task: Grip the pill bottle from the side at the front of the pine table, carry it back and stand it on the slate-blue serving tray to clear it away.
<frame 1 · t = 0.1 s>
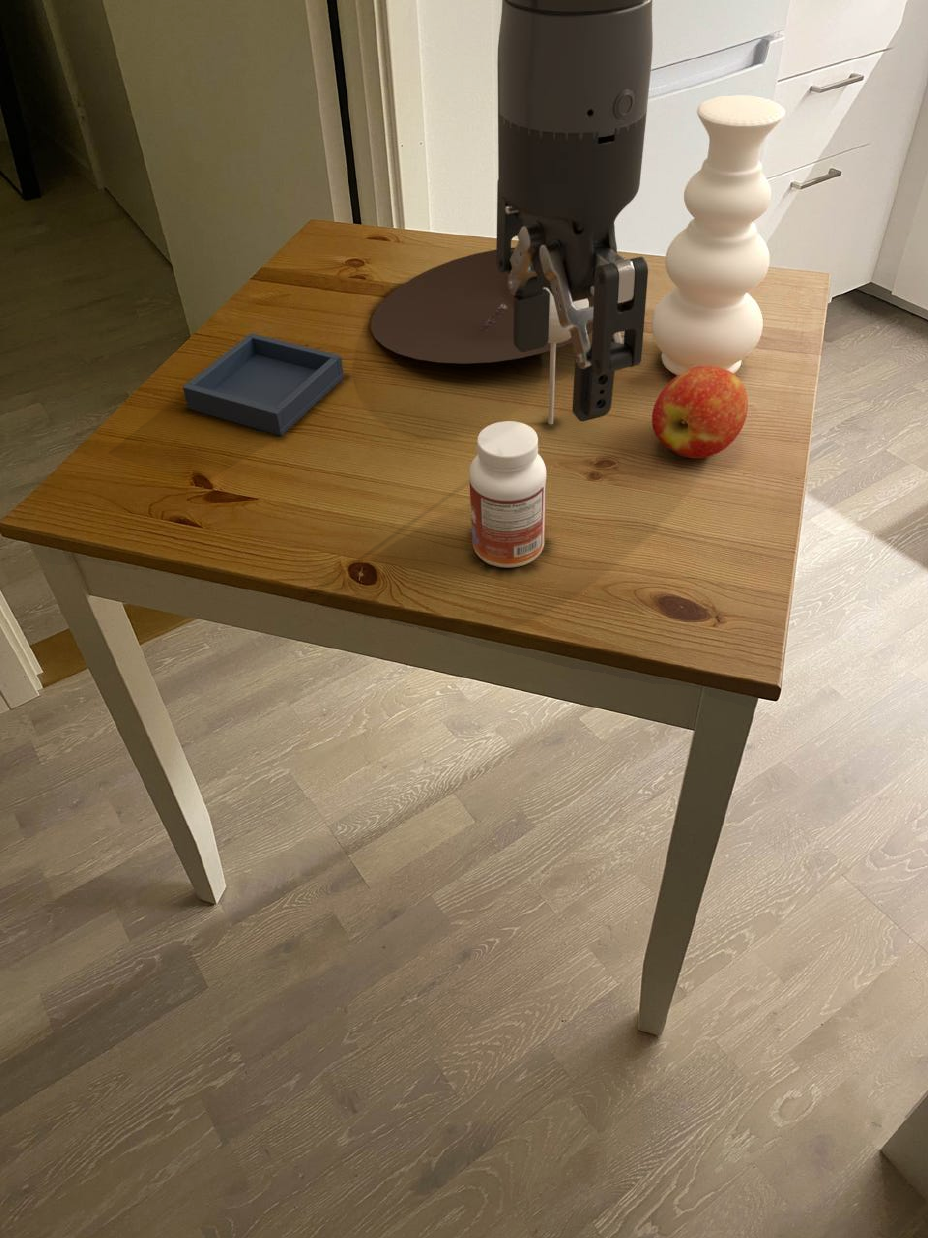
hand: (559, 380, 59), 21 cm above the table, tool pointing down, fingers open, 8 cm apart
pill bottle: (508, 547, 80), on the table
apple: (695, 448, 89), on the table
lollipop: (550, 424, 92), on the table
vase: (699, 366, 99), on the table
plate: (494, 320, 107), on the table
tray: (267, 392, 98), on the table
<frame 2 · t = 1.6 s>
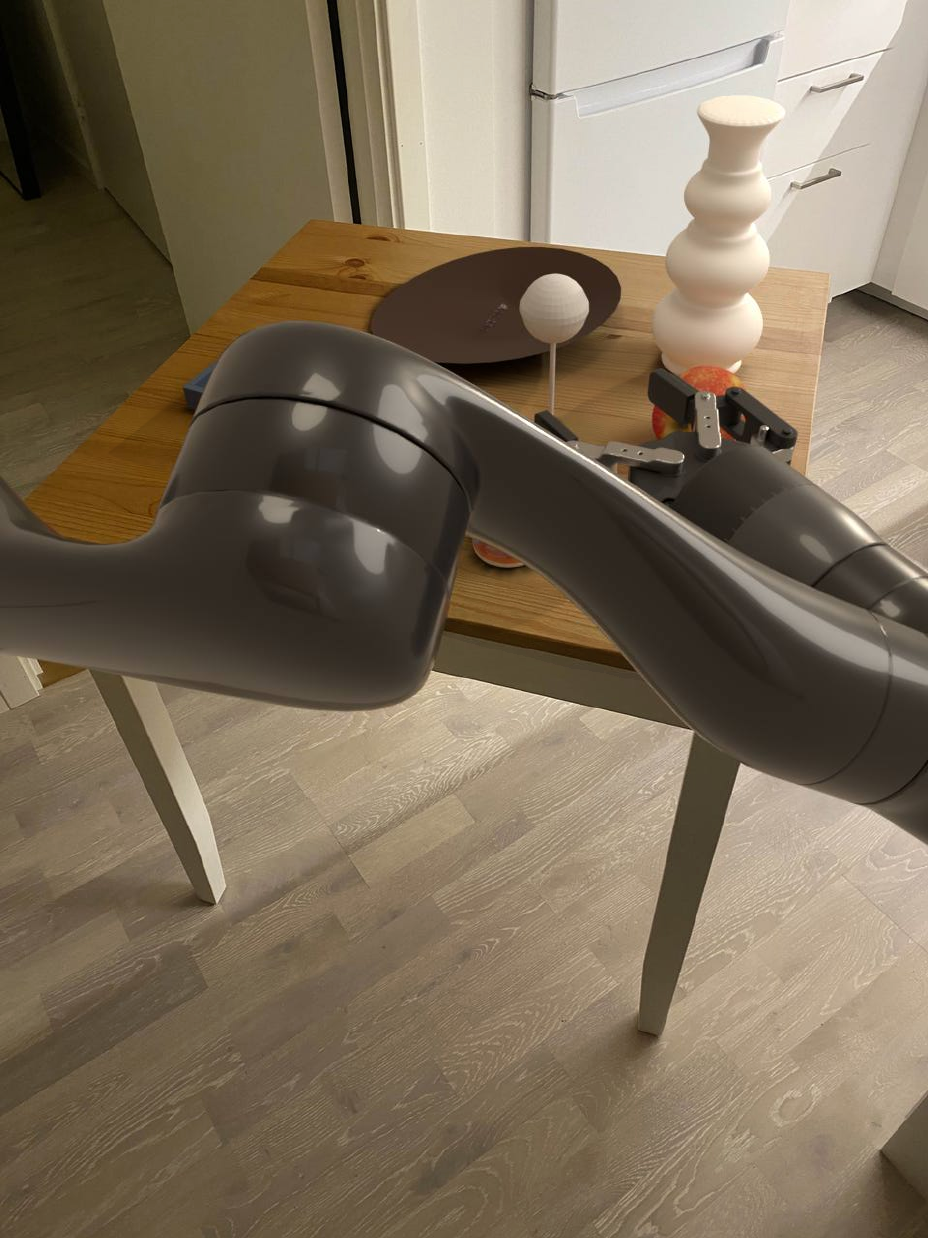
hand: (596, 402, 59), 20 cm above the table, tool horizontal, fingers open, 8 cm apart
nothing on the table moved.
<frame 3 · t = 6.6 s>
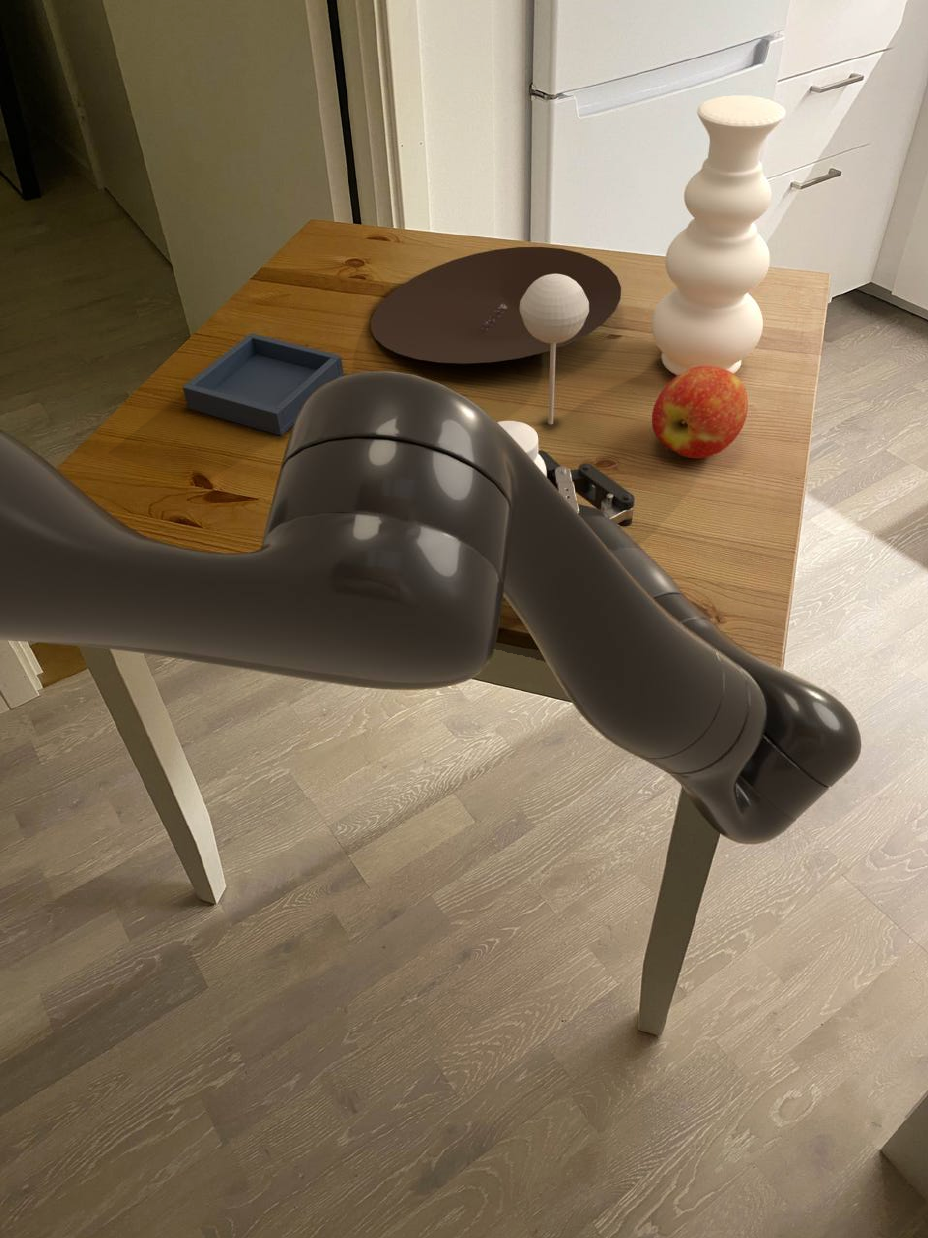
hand: (493, 470, 77), 7 cm above the table, tool horizontal, fingers closed on pill bottle, 6 cm apart
pill bottle: (508, 547, 80), on the table, touching gripper
everything else where it was.
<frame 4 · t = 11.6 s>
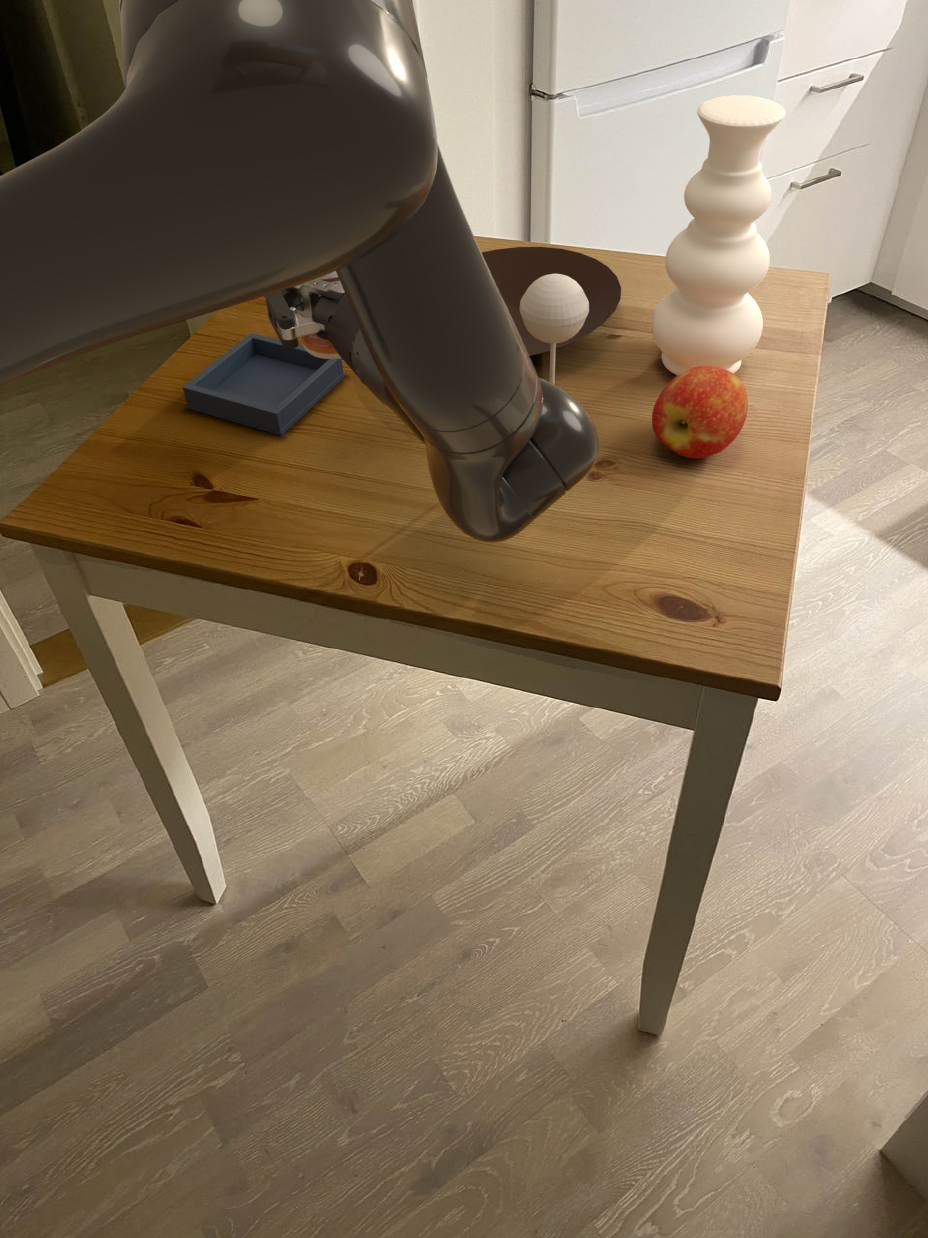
hand: (315, 262, 80), 18 cm above the table, tool horizontal, fingers closed on pill bottle, 6 cm apart
pill bottle: (337, 345, 83), point 11 cm above the table, touching gripper
everything else where it was.
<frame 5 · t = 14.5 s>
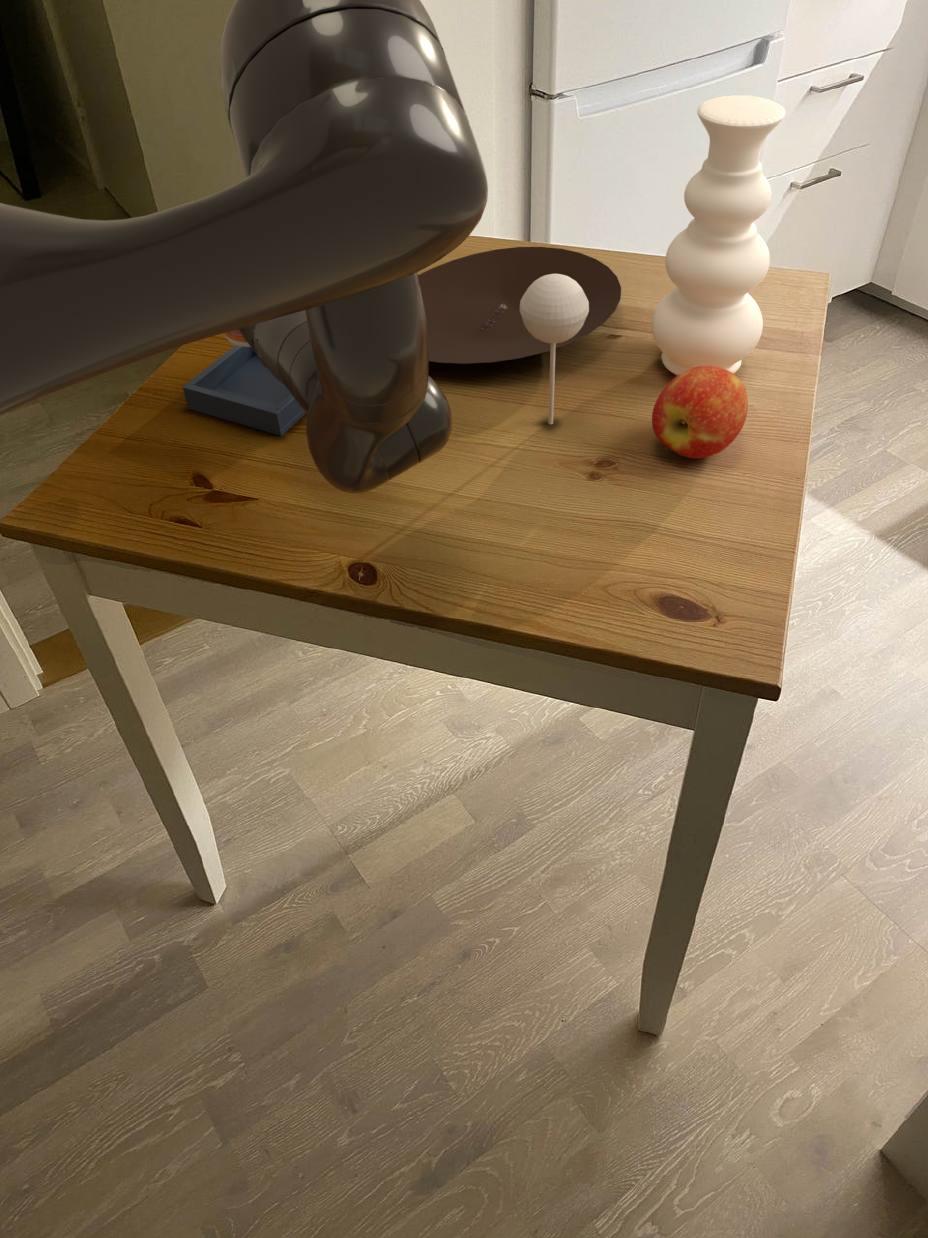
hand: (234, 261, 90), 13 cm above the table, tool horizontal, fingers closed on pill bottle, 6 cm apart
pill bottle: (257, 335, 93), point 7 cm above the table, touching gripper
everything else where it was.
when the fingers open (7 cm above the table, at t = 16.7 s): pill bottle stays where it is, resting on tray.
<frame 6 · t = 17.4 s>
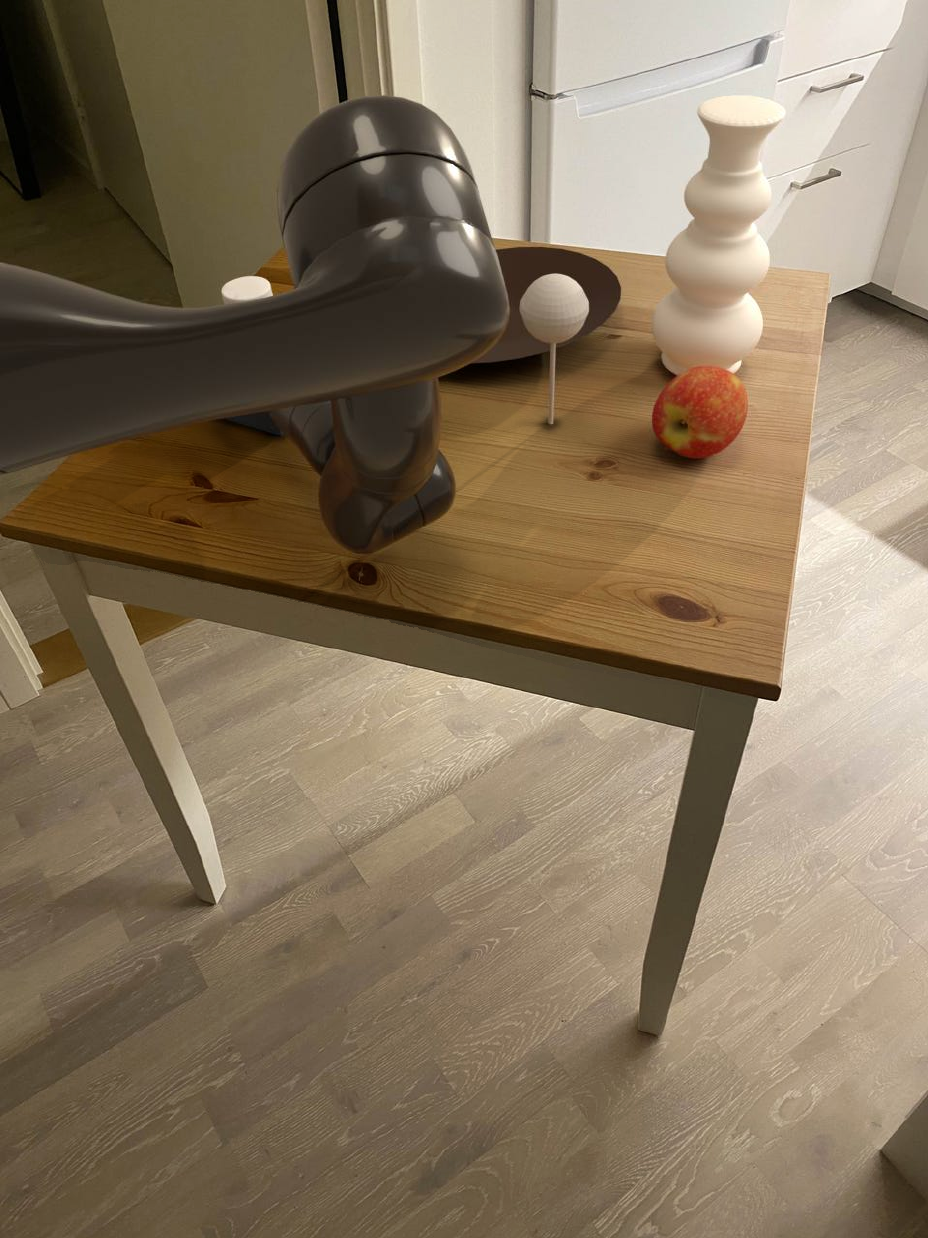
hand: (246, 317, 93), 8 cm above the table, tool horizontal, fingers open, 8 cm apart
pill bottle: (268, 389, 98), resting on tray
everything else where it was.
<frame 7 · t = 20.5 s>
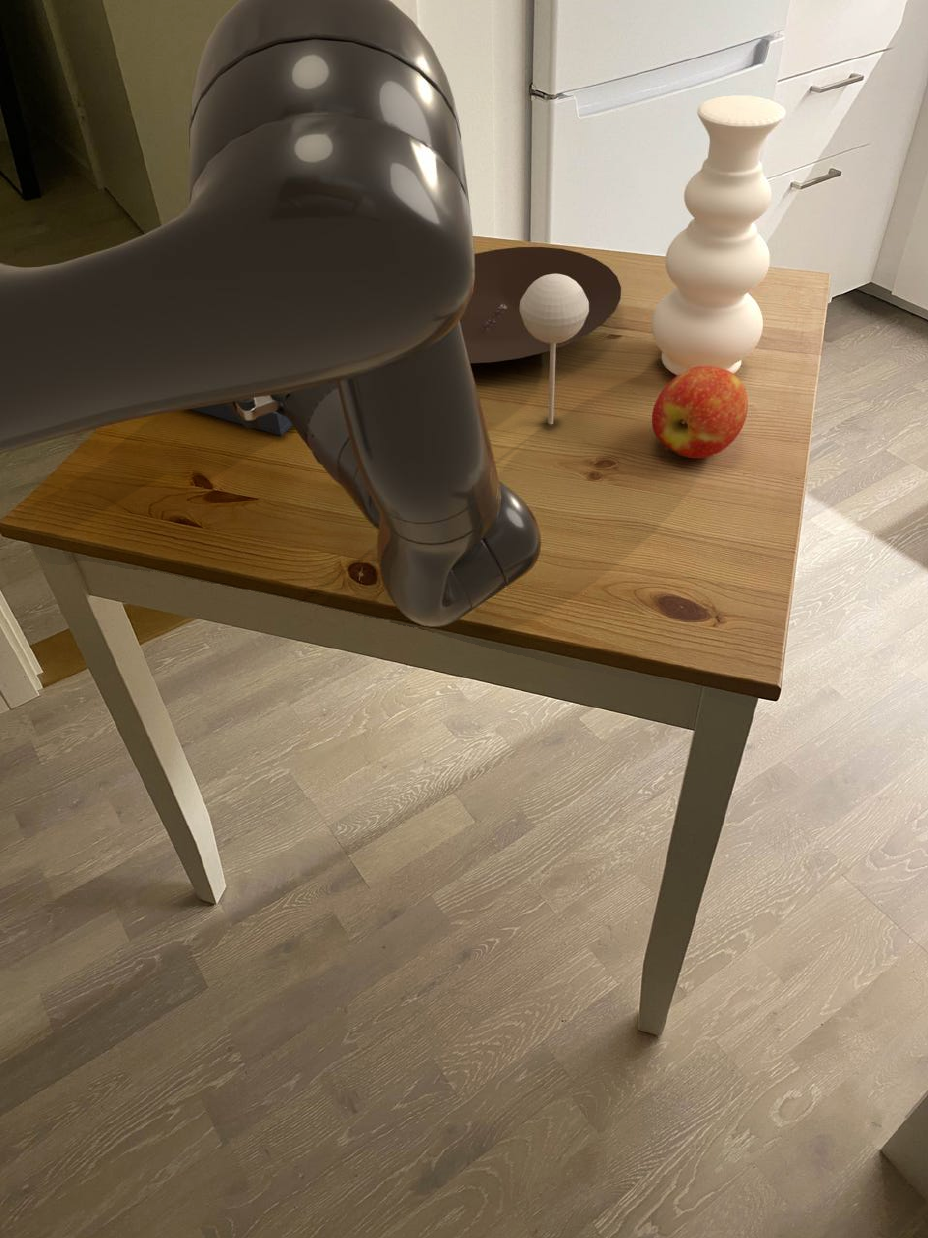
hand: (278, 334, 81), 13 cm above the table, tool horizontal, fingers open, 8 cm apart
nothing on the table moved.
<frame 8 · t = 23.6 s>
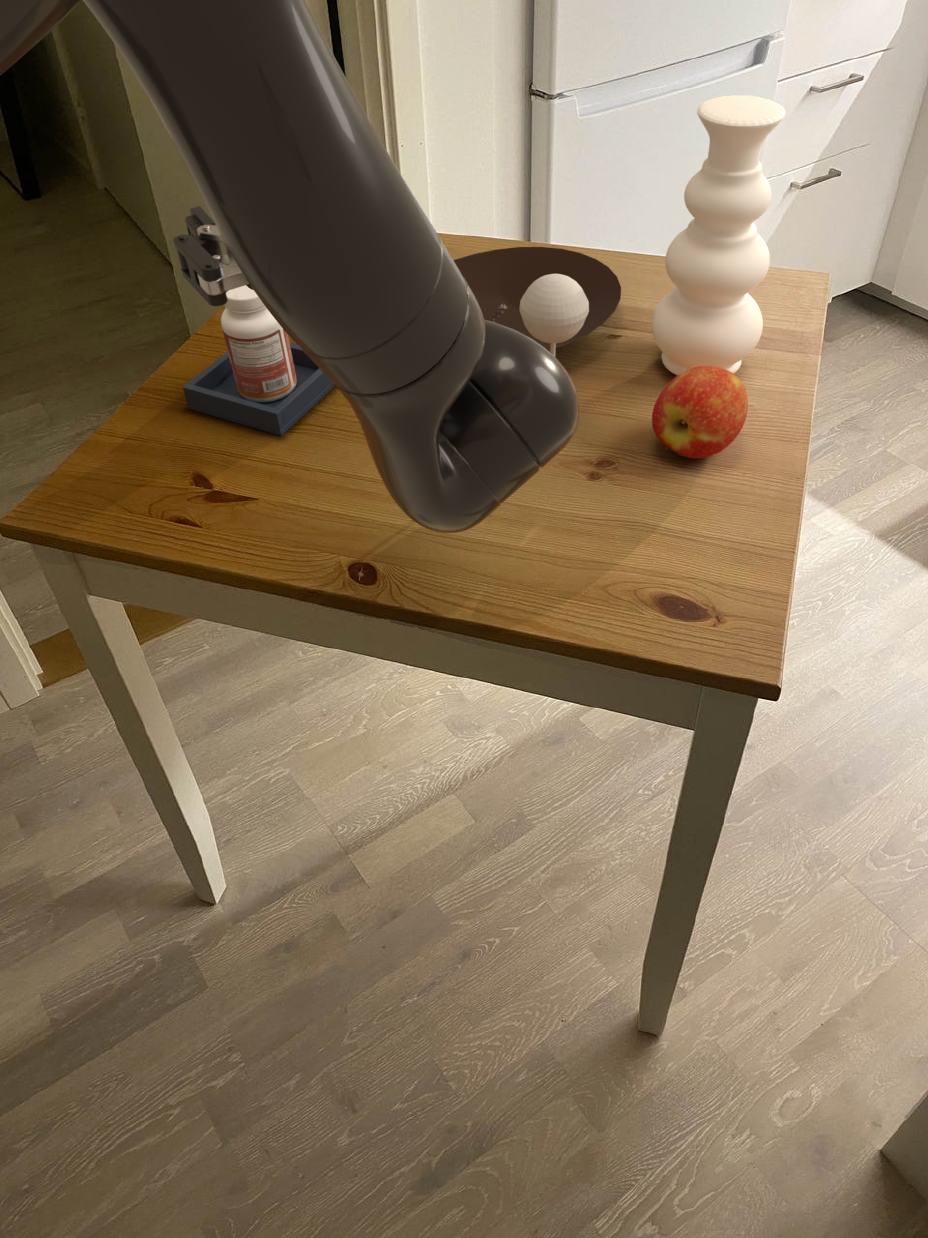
hand: (254, 206, 67), 26 cm above the table, tool horizontal, fingers open, 8 cm apart
nothing on the table moved.
at the end: pill bottle inside the target area in the tray (0.2 cm from its centre), point 0.4 cm above the tray's base; pill bottle tilted 0°; the gripper is holding nothing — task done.
